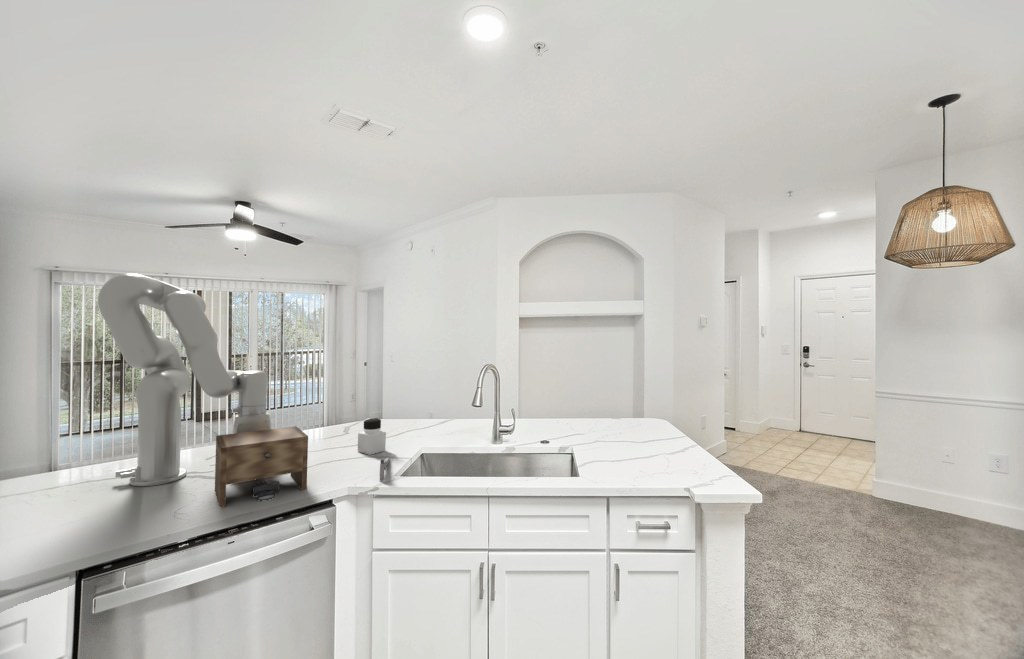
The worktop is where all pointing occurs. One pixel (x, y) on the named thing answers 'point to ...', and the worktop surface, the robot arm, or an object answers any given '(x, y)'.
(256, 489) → the scraper
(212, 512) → the worktop surface
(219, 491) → the walnut cabinet
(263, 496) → the steel token
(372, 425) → the medicine bottle
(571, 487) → the worktop surface
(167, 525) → the worktop surface
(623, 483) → the worktop surface
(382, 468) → the caliper
